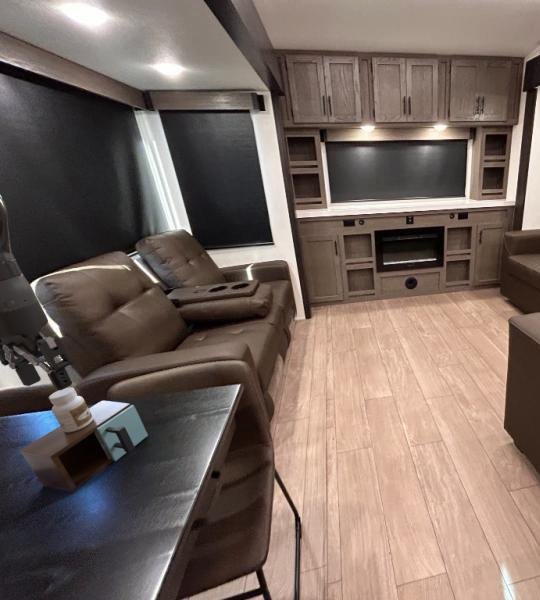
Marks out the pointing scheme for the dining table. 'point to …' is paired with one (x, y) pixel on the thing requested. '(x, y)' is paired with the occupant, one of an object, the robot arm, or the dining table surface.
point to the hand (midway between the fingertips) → (48, 385)
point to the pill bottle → (70, 410)
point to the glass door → (122, 432)
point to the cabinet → (73, 451)
